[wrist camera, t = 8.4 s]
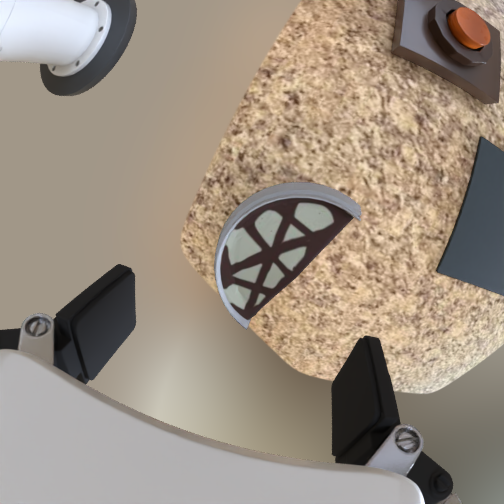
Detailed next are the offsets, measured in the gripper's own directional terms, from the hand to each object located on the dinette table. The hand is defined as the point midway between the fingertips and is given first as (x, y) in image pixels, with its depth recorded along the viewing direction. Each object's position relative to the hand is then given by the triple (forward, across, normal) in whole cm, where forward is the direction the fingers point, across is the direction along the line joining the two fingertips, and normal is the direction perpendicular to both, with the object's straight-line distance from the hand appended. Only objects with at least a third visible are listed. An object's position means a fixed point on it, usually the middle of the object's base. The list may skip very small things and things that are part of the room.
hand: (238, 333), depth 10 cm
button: (+14, -13, -24) cm, 31 cm away
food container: (+18, 0, 0) cm, 18 cm away
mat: (+18, -29, -7) cm, 35 cm away
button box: (+18, -13, -24) cm, 33 cm away
